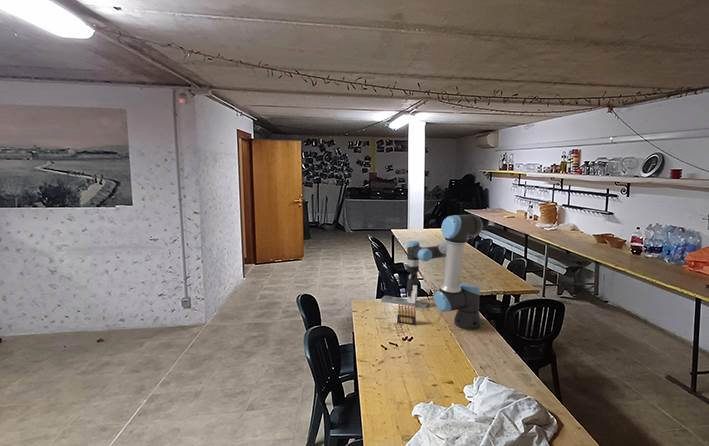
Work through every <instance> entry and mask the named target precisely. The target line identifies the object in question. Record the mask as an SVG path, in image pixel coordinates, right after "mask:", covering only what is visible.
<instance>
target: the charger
mask: <svg viewBox="0 0 709 446" xmlns="http://www.w3.org/2000/svg"><path fill="white" fill-rule="evenodd" d="M417 300H418V291H417V292H415V291H413V290H412V301H407V302H408V303H415V304H416V303H417Z"/></svg>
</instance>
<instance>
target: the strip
mask: <svg viewBox="0 0 709 446" xmlns="http://www.w3.org/2000/svg"><path fill="white" fill-rule="evenodd" d="M380 301H381V303H389V304H393V305H394V304H395V305H399V303H400V306H401V305H402V303H403V306H405V304H406V307H407V306H408V304H409V307H411V304H412V307H414V305H415V308H421V309H427V308H428V306H429V303H430V302H429V301H425V300H418V299H417V303H416V304H415V303H408V302H407V298H405V297H397V296H390V295H383V297H382V298H381V299H380Z"/></svg>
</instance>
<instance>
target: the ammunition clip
mask: <svg viewBox="0 0 709 446" xmlns="http://www.w3.org/2000/svg"><path fill="white" fill-rule="evenodd" d="M397 305H398V307H397V319H396V320H397V321H396V323H397V324H401V325H402V324H403V325H408V326H416V325H417V317H416V316H417V314H416V307H415V305H414V306H412V304H411V306H409V304H408V306H407V305H406V304H405V305H403V303H402V305H400V303H399V304H397Z"/></svg>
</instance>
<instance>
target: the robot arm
mask: <svg viewBox="0 0 709 446" xmlns="http://www.w3.org/2000/svg"><path fill="white" fill-rule="evenodd" d="M440 227H441V232H442V236H443V237H444V240H443V241H441V242H440V243H438V244H437V245H434V246H426V247H422V246H421V245H420V242H419V241H418V240H408V242H407V244H406V245H407V247H406V248H407V249H406V265H407V266H406V272H408V273H409V274H408V275H407V282H406V283H407V284H406V290H405V292H406V293H407V294H406V296H407V298H406V299H407V301H412V291H415V292H417V293H418V286H419V277H418V273H419V272H420V271H419V270H420V268H419V267H420V266H419V265H420V261H422V262H429V261H430V260H434V259H442V258H445V262H444V270H443V271H444V272H443V280H442V281H443V282H442V283H441V284H440V285H439V290H437V291H436V292H434V294H433V301H434V303H435V306H436V307H437V309H438V310H439V311H441V312H443V313H447V312H450V313H451V312H452V311H456V313H455V315H454V318H453V323H454V325H455V326H456V327H458V328H461V329H466V330H477V329H480V328H481V327H482V319H481V316H480V310H479V309H480V296H481V293H480V287H478V286H477V285H474V284H471V283H465V282H463V283H461V282H460V279H461V271H462V263H463V254H464V246H465V245H466V244H467V243H468V240H469V239H471V240H472V239H474V238H476V237H477V236H478V235H480V234H481V233H482V230H483V227H484V224H483V220H482V219H481V218H480V217H479V216H478V215H475V214H472V213H469V214H455V215H448V216H447V217H446V218H444V220H443V221H442V224H441V226H440Z"/></svg>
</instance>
